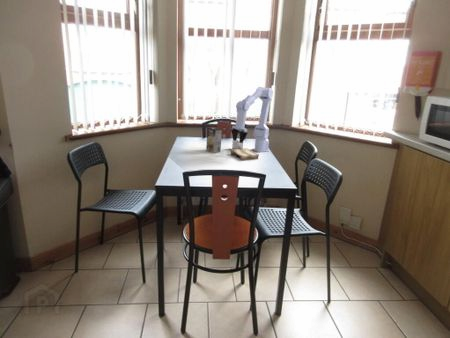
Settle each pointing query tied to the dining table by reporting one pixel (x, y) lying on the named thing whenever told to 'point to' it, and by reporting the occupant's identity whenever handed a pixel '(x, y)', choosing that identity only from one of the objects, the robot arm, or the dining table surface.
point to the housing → (237, 145)
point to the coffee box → (214, 139)
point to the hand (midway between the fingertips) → (237, 141)
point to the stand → (245, 154)
